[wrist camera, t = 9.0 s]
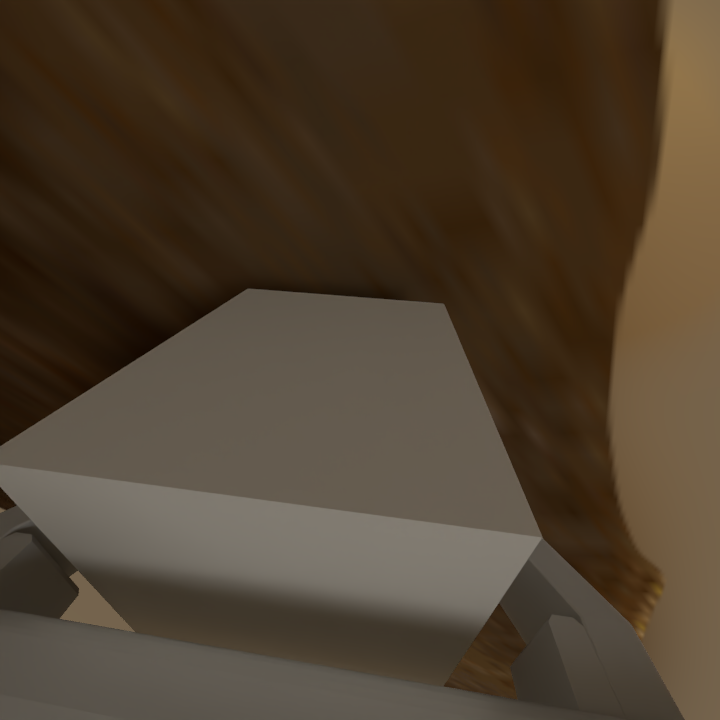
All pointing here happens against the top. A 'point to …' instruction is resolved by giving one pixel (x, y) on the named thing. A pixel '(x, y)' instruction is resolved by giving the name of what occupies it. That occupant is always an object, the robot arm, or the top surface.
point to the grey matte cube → (289, 486)
